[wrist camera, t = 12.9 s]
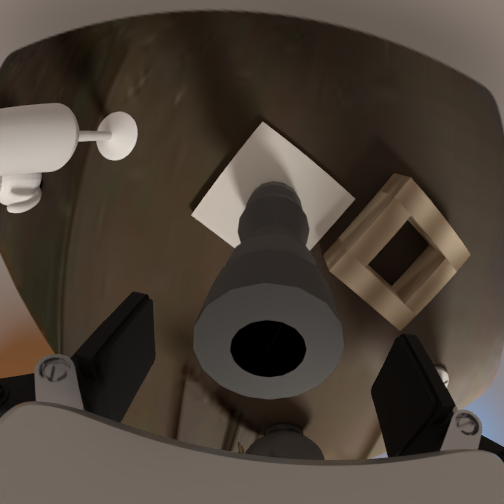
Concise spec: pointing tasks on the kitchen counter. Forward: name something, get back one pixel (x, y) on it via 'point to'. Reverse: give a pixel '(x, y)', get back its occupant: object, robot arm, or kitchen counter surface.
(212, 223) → the ceramic tile
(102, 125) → the champagne flute
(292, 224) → the candle holder
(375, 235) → the socket block
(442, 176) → the kitchen counter surface
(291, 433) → the pitcher
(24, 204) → the cat figurine
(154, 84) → the kitchen counter surface
